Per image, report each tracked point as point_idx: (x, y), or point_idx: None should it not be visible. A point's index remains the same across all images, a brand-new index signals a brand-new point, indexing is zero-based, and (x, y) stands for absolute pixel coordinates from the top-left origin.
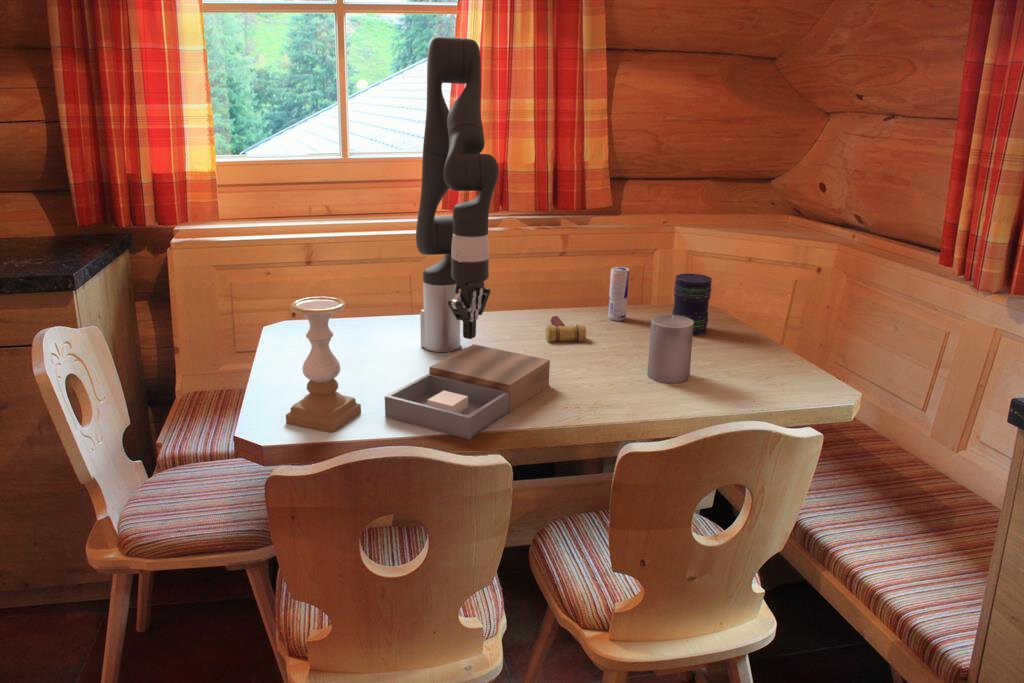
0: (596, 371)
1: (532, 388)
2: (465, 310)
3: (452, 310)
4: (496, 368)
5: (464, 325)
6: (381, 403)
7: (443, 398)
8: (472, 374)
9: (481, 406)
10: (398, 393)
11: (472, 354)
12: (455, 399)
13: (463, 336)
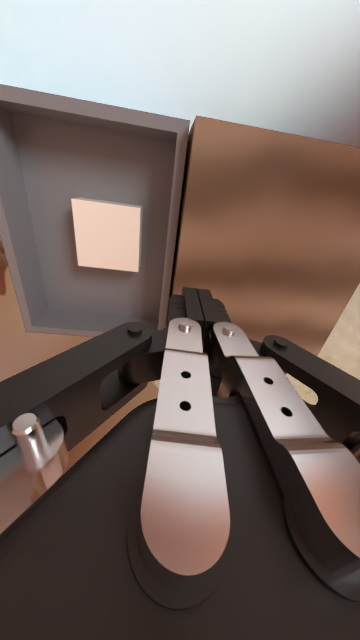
0: (356, 368)
1: None
2: (98, 424)
3: (37, 372)
4: (242, 298)
5: (168, 323)
6: (60, 20)
7: (100, 230)
8: (187, 268)
9: (156, 283)
10: (22, 105)
11: (332, 202)
12: (110, 256)
13: (183, 287)
